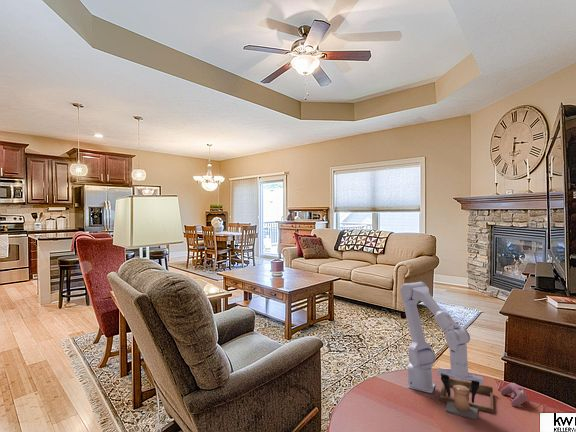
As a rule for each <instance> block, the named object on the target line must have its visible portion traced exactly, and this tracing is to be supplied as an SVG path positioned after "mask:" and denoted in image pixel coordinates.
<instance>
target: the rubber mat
mask: <svg viewBox="0 0 576 432" xmlns="http://www.w3.org/2000/svg"><path fill="white" fill-rule="evenodd" d="M469 408H470V410H469V411H466V412H465V411H460V410H458V409H456V408H455V402H451V401H447V402H446V406H445V410H444V411H445V413H450V414H453V415H456V416H461V417H465V418H468V419H472V420H476V421H477V420H478V412H479V410H478V408H475V407H471V406H469Z"/></svg>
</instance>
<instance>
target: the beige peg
mask: <svg viewBox="0 0 576 432" xmlns="http://www.w3.org/2000/svg"><path fill="white" fill-rule="evenodd" d="M452 390H453V394H454V398H453V399H454V400H455V408H456V409H458V410H460V411H465V412H466V411H469V410H470V408H469V402H470V391H471V390H469V388H467V387H465V386H462V385H454V386H452Z"/></svg>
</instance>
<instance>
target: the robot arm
mask: <svg viewBox="0 0 576 432" xmlns="http://www.w3.org/2000/svg"><path fill="white" fill-rule="evenodd" d="M399 291H400V295H401V300H402V304H403V308H404V309H403V310H404V312H405V316H406V321H407V325H408V330H409V334H410V338H411V344H410V345H409V346H408V347H407V348H408V349H407V350H408V361H409V362H410V363H408V365H407V382H408V384H407V387H408V388H409V389H412V390H417V391H420V392H425V393H428V394H433V392H434V389H435V387H436V384H435V383H433V368H432V367H434V364H435V363H436V355H435V352H434V351H433V348H432V345H431V344H430V343H428V342H426V339H425V335H424V330H423V325H422V322H421V317H420V313H419V310H418V303H419V301H420V302H422V303H423V305H425V307H426V308H427V309H428V310H429V311H430V312H431V313H432V314H433V315H434V321H435V323H436V324H437V325H438V326H439V327H440V329H441V331H442V332H443V333H444V334H445V335H444V337H445V340H446V342H447V346H448V348H449V359H450V361H449V362H450V365H449V366H450V368H440V367H439V368H437V376H439V377H440V380H441V382H442V385H443V384H444V386H445V391H446V394H447V397H449V398H451V395H452V394H451V386H450V378H452V379H457V380H462V381H467V382H471V390H472V391H471V390H470V391H471V403H474V404H475V398H476V394H477V393H478V392H477V390H478V388H479V384H481V385H484V379H483V376H480V375H476V374H474V373H471V372H469V364H468V362H469V361H468V345H467V344H469V342H470V341H471V335H470V333H469V332H468V330H467V328H466V327H462V326H460V324H457V322H456V321H455V320H454V318H453V317H452V316H451V315H450V313H449V312H447V311H445V310H443V309H442V308H440V306H439V305H438V303H437V302H436V300H435V299H434V298H433V295H431V293H430V288H429V287H428V286H427V284H426V283H425V282H423V281H417V282H408V283H406V282H405V283H403V284H402V285H401V287H400V289H399Z"/></svg>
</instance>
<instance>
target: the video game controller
mask: <svg viewBox="0 0 576 432" xmlns="http://www.w3.org/2000/svg"><path fill="white" fill-rule="evenodd" d="M499 392H500V395H502V396H503V395H509V394H510V397H511V398H512V400H511V402H510V404H511V406H512V407H520V406H521V405H523V403H525V402H526V401H527V400H528V394H527V393H526V392H525V390H524V388H523V387H522V386H521V385H519V384H517V383H515V382H510V383H508V384H507V385H505V386H504V387H502V388H501V389H500V391H499Z"/></svg>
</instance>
